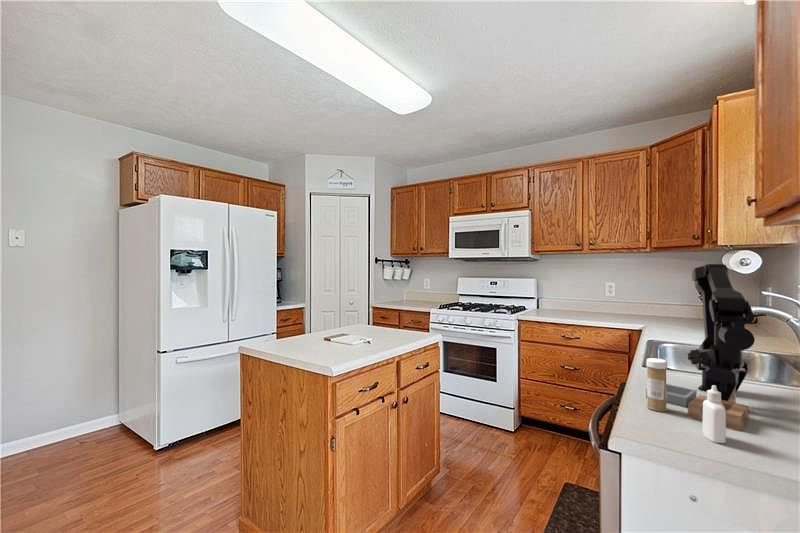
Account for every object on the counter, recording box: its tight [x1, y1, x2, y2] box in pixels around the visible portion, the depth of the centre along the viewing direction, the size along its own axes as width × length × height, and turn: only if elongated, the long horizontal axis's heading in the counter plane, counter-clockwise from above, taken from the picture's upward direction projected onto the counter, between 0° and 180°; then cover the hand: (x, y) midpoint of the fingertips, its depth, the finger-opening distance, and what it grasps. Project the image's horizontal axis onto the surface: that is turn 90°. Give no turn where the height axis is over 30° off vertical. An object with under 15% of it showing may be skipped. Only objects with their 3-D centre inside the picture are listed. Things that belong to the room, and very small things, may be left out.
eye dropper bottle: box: [702, 385, 727, 444], centre depth 85 cm, size 4×6×12 cm
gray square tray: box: [645, 383, 698, 408], centre depth 109 cm, size 10×10×3 cm
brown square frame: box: [687, 394, 750, 432], centre depth 95 cm, size 10×10×4 cm
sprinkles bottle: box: [646, 357, 668, 413], centre depth 101 cm, size 5×5×14 cm
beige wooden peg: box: [728, 387, 737, 403], centre depth 101 cm, size 3×3×7 cm
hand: (727, 399), depth 101 cm, fingers open, 8 cm apart
